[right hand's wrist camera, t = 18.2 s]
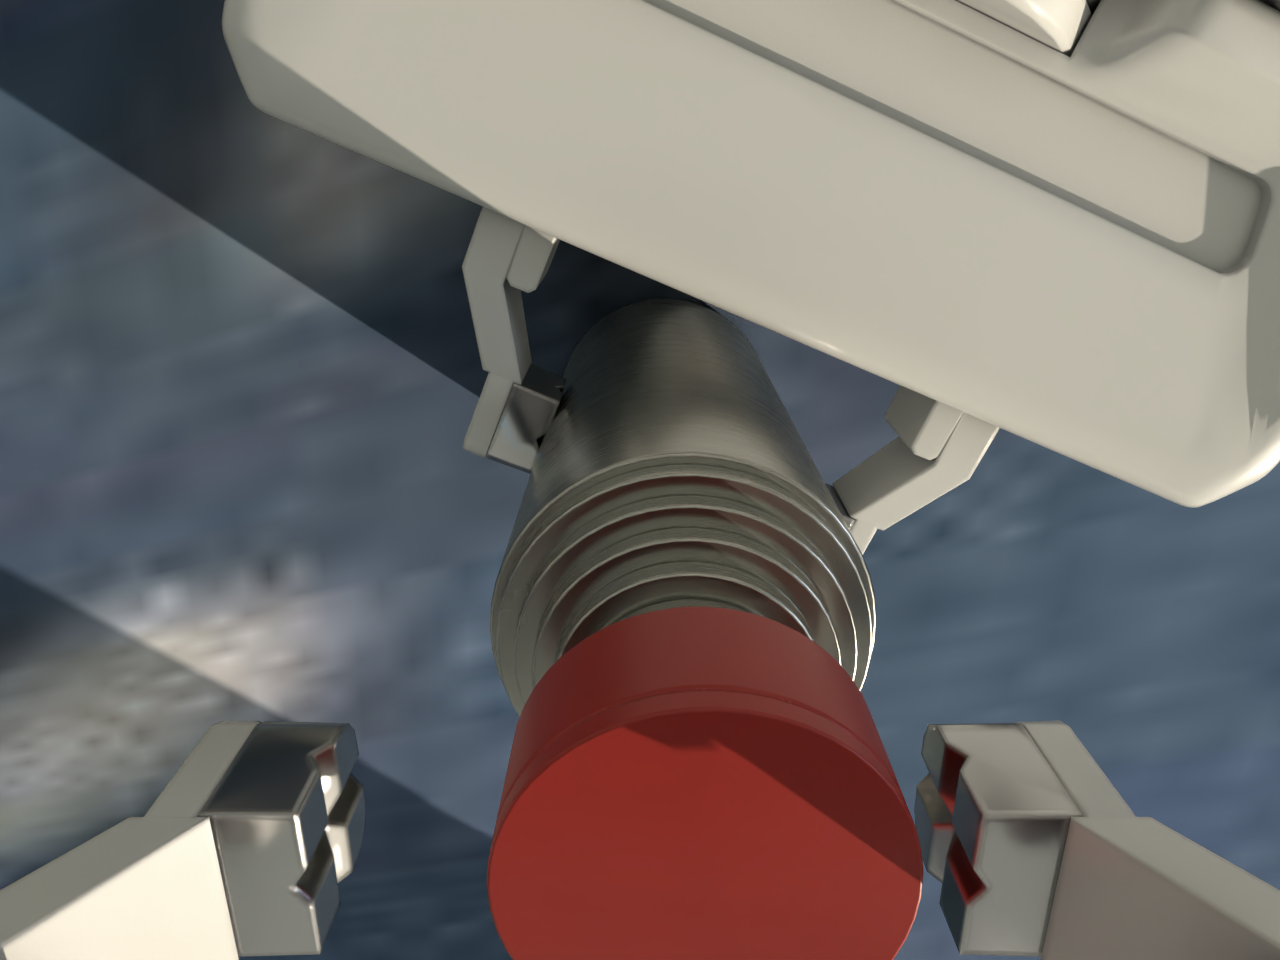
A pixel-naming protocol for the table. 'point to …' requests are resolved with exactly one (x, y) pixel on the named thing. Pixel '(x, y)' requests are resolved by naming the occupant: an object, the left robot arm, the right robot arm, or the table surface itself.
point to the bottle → (673, 501)
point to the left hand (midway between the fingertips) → (654, 514)
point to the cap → (701, 803)
